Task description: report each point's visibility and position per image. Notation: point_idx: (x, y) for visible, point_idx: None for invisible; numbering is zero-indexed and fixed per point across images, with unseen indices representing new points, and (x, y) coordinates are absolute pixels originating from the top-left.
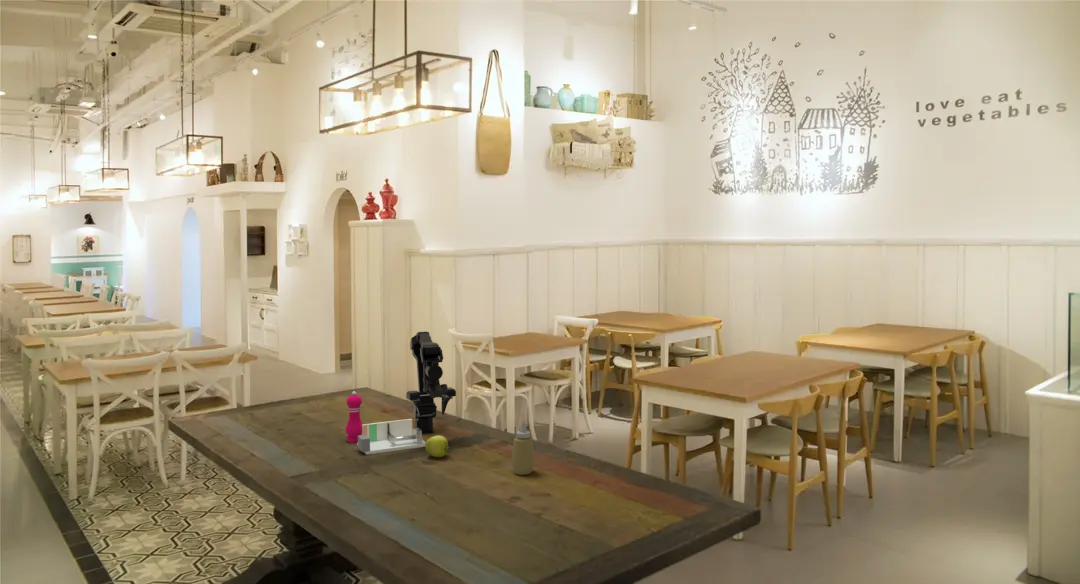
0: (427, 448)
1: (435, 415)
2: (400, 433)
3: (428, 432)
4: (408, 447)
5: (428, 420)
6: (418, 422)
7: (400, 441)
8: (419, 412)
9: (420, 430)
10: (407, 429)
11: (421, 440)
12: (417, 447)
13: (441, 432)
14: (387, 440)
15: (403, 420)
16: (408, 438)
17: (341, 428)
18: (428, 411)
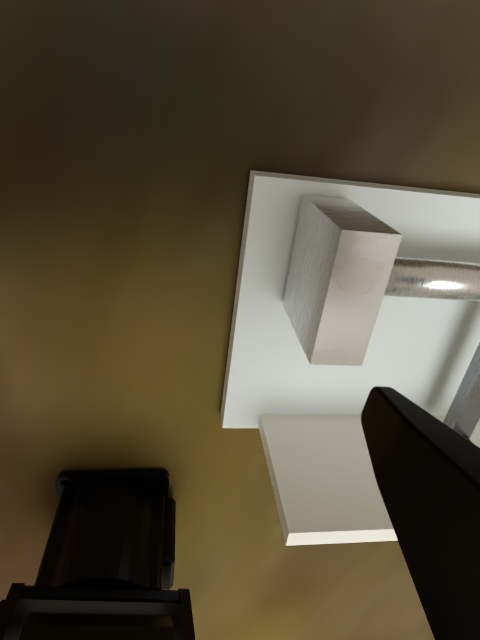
0: None
1: (3, 601)
2: (356, 437)
3: (104, 473)
4: (421, 189)
5: (83, 560)
6: (163, 558)
7: (398, 339)
8: (456, 435)
9: (347, 249)
10: (310, 456)
11: (313, 201)
12: (340, 180)
13: (7, 456)
14: (445, 396)
15: (371, 527)
16: (421, 260)
17: (428, 636)
18: (74, 637)
